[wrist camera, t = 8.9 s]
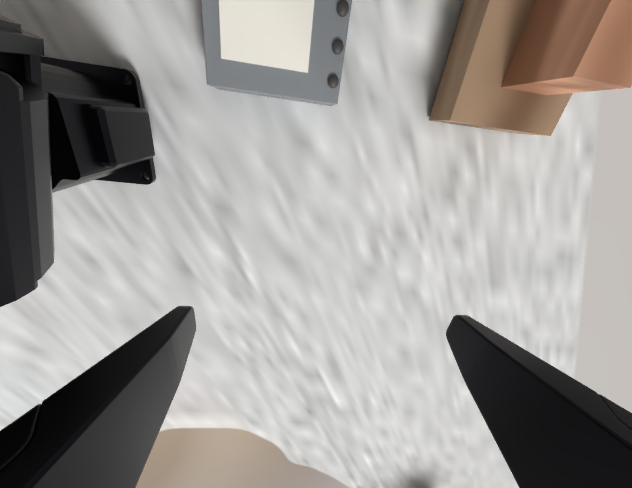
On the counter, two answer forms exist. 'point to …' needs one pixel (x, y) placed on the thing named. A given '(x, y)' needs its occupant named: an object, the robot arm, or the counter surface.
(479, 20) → the block on square base
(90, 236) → the counter surface
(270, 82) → the board
